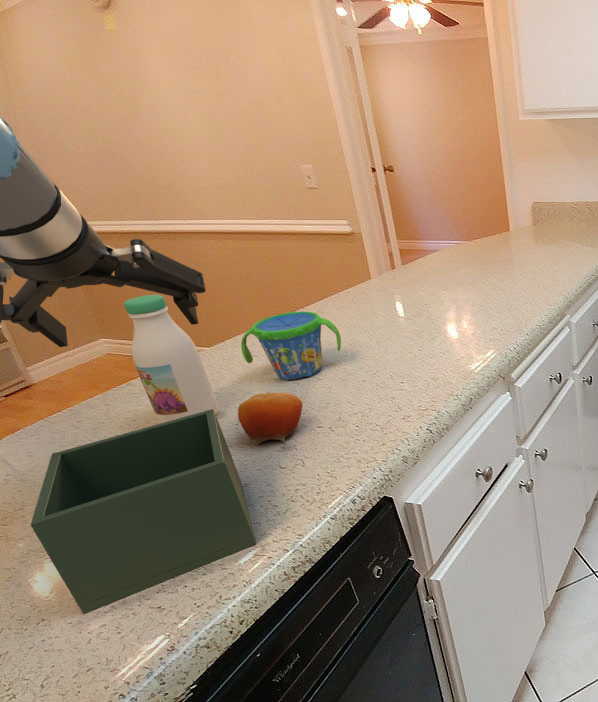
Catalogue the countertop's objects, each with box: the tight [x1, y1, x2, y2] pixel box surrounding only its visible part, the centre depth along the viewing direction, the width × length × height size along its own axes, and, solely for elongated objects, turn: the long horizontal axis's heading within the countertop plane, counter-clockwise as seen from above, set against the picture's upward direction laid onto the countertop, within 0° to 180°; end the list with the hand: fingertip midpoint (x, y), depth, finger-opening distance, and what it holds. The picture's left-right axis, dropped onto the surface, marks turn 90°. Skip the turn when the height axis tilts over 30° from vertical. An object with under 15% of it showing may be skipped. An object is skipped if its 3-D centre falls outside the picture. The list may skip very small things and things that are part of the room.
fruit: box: [237, 392, 303, 446], centre depth 82 cm, size 8×8×8 cm
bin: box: [30, 409, 257, 614], centre depth 61 cm, size 15×15×11 cm
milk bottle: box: [123, 294, 220, 424], centre depth 85 cm, size 8×8×20 cm
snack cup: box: [240, 311, 342, 381], centre depth 101 cm, size 16×10×10 cm
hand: (131, 326), depth 73 cm, fingers open, 13 cm apart
